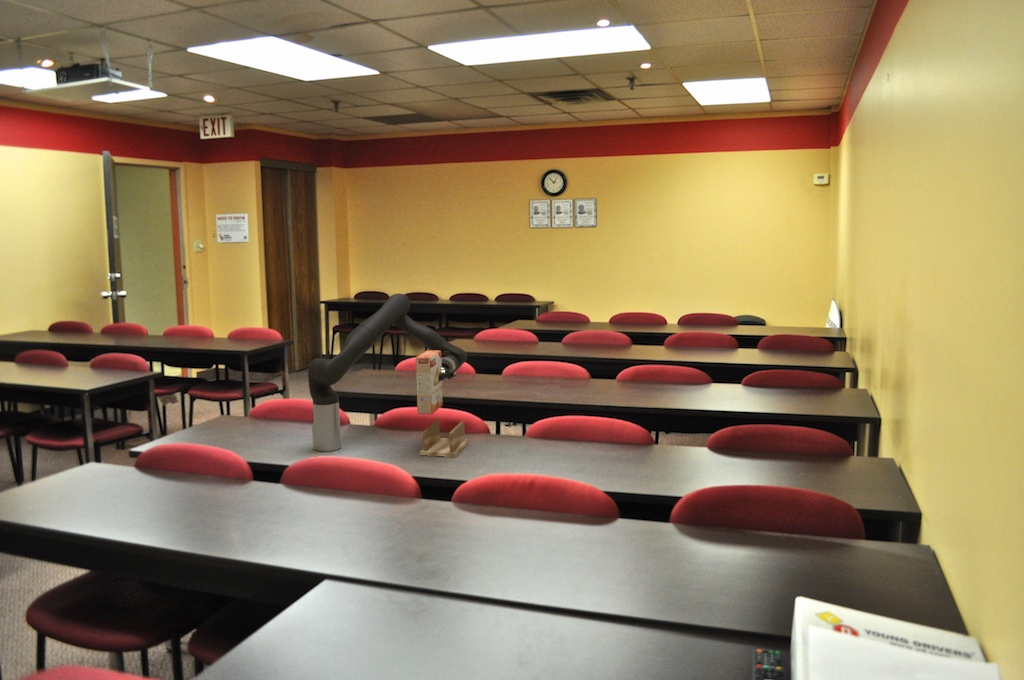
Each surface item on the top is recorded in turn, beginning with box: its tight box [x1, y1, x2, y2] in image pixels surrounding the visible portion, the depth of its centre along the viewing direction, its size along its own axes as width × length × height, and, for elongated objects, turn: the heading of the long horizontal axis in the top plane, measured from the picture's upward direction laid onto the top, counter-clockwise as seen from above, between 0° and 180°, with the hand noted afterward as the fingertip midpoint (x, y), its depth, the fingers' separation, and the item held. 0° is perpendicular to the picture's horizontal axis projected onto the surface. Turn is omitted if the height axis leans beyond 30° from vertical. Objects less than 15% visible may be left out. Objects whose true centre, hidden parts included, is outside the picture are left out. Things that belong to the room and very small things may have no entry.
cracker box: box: [415, 349, 444, 415], centre depth 278 cm, size 14×6×21 cm, turn 169°
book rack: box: [419, 419, 469, 458], centre depth 280 cm, size 13×18×8 cm
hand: (431, 378), depth 279 cm, fingers closed on cracker box, 6 cm apart
